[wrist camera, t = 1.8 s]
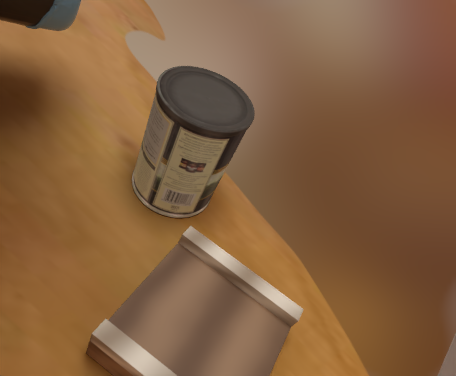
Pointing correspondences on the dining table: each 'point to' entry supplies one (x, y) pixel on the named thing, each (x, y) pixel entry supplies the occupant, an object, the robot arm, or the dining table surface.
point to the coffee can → (189, 140)
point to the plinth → (196, 318)
